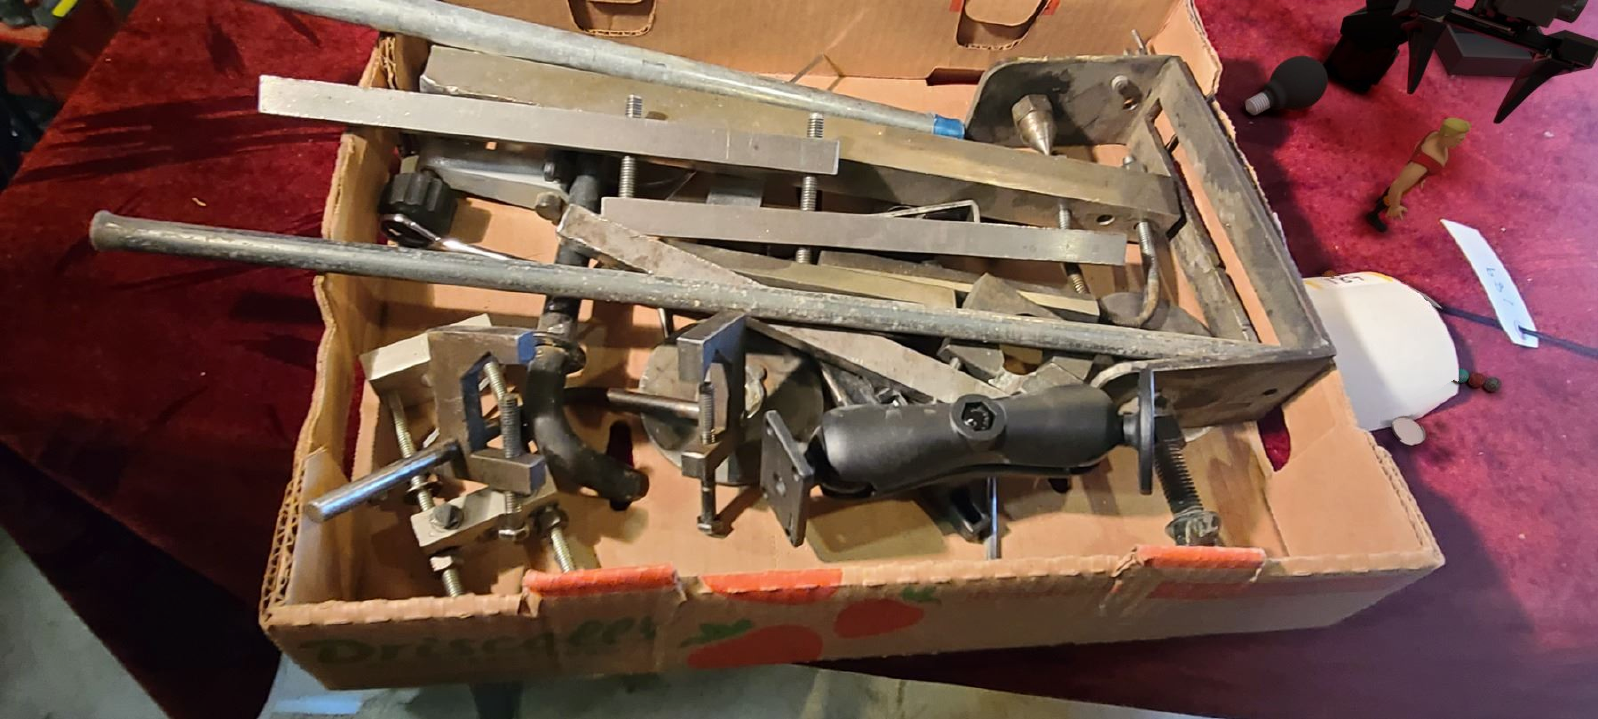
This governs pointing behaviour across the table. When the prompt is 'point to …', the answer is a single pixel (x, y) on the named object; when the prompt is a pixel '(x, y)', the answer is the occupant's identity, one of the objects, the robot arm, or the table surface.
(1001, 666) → the table surface
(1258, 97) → the light bulb
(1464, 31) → the tray
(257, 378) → the table surface
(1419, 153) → the action figure
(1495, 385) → the beads
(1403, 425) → the grey flat disc
